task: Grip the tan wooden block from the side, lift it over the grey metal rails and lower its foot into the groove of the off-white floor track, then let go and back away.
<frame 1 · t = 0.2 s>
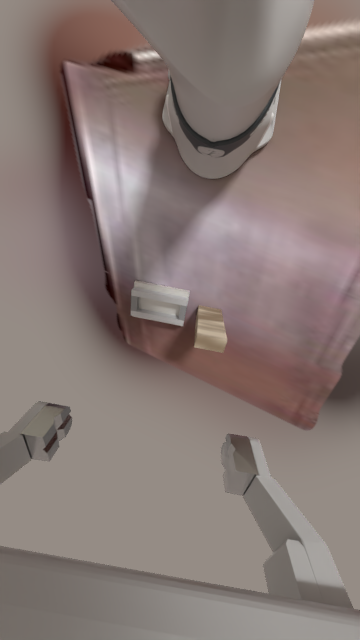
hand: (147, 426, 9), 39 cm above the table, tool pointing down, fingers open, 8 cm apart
tan wooden block: (208, 312, 49), on the table
floor track: (160, 303, 49), on the table
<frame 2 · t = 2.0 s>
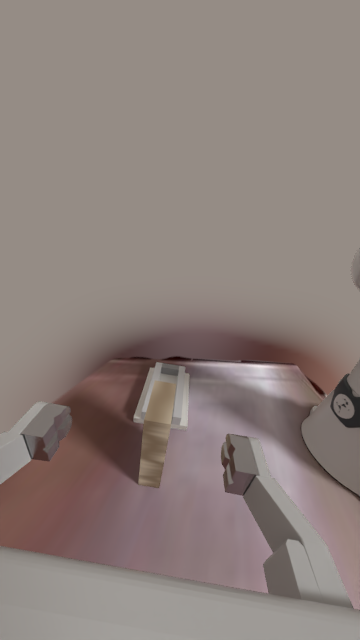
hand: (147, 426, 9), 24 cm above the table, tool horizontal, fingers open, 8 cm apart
tan wooden block: (153, 462, 29), on the table
floor track: (165, 396, 41), on the table
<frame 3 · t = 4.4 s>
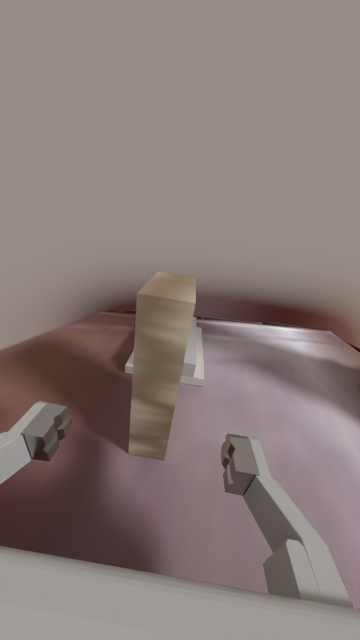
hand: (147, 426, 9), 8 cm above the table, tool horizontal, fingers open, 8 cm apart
tan wooden block: (153, 423, 18), on the table
floor track: (170, 348, 30), on the table
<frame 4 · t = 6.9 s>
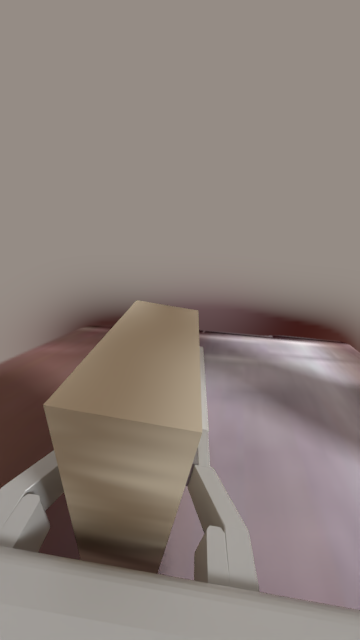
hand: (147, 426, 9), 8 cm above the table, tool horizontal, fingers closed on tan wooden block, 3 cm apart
tan wooden block: (135, 518, 12), on the table, touching gripper
floor track: (165, 378, 24), on the table
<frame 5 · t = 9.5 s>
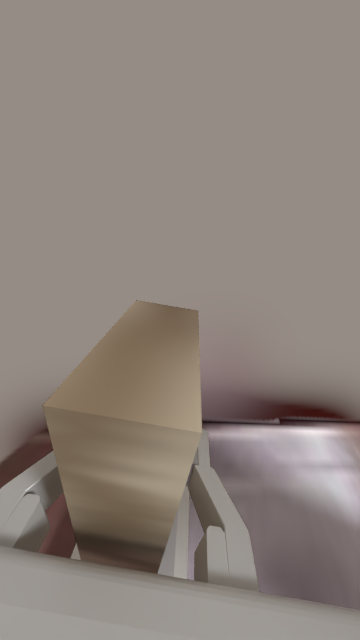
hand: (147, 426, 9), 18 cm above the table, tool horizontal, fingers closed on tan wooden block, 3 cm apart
tan wooden block: (135, 518, 12), point 10 cm above the table, touching gripper
floor track: (130, 560, 17), on the table
when the fingers open (10 cm above the table, at t = 12.1 s): tan wooden block stays where it is, resting on floor track.
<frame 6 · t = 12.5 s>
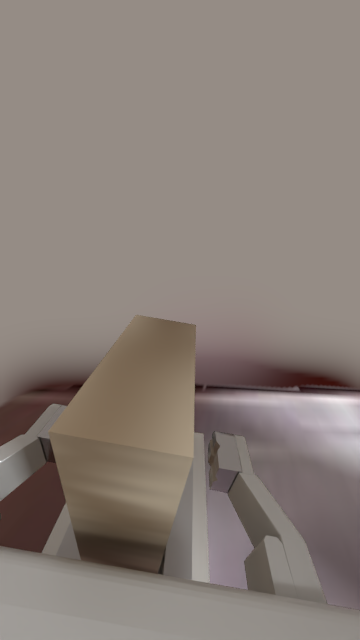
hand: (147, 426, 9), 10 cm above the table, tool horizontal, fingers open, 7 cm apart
tan wooden block: (135, 523, 12), point 1 cm above the table, touching floor track
floor track: (134, 529, 13), on the table
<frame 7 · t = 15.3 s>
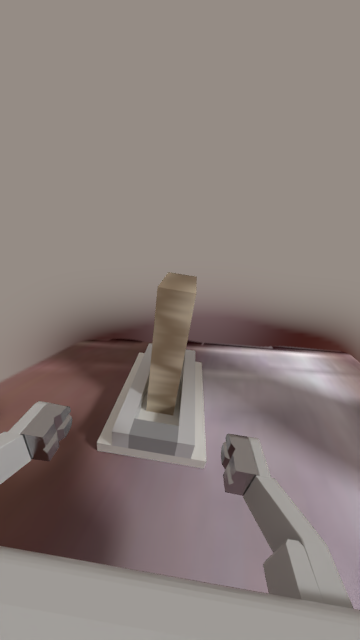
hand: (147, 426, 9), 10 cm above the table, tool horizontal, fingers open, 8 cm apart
tan wooden block: (164, 391, 23), point 1 cm above the table, touching floor track
floor track: (162, 398, 23), on the table
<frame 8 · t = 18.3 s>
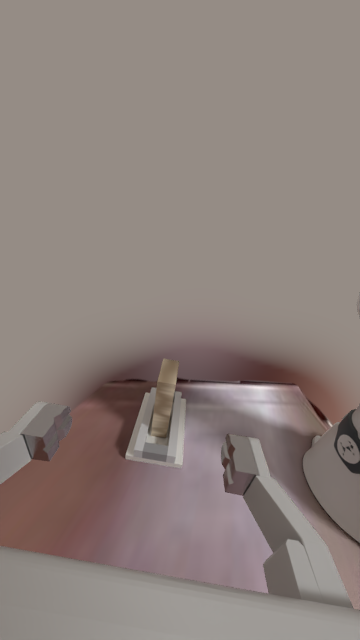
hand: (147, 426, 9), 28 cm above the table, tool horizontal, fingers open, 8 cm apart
tan wooden block: (161, 422, 38), point 1 cm above the table, touching floor track
floor track: (160, 426, 39), on the table
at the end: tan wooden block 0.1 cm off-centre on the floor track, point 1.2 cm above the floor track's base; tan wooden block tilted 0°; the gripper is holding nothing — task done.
